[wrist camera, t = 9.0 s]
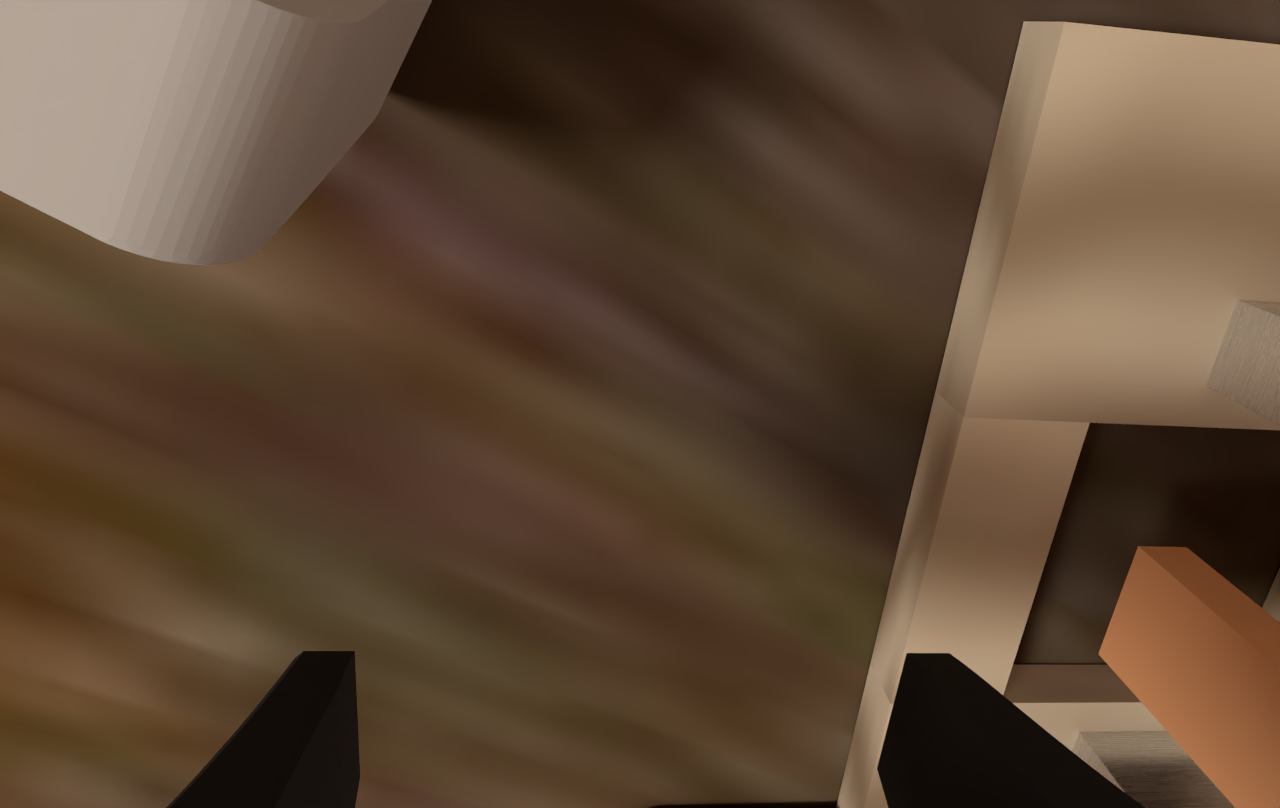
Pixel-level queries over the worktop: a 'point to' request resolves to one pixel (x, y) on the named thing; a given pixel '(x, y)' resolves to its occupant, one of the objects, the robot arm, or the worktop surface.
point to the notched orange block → (1202, 669)
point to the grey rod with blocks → (1152, 760)
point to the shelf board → (1077, 341)
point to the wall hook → (189, 112)
